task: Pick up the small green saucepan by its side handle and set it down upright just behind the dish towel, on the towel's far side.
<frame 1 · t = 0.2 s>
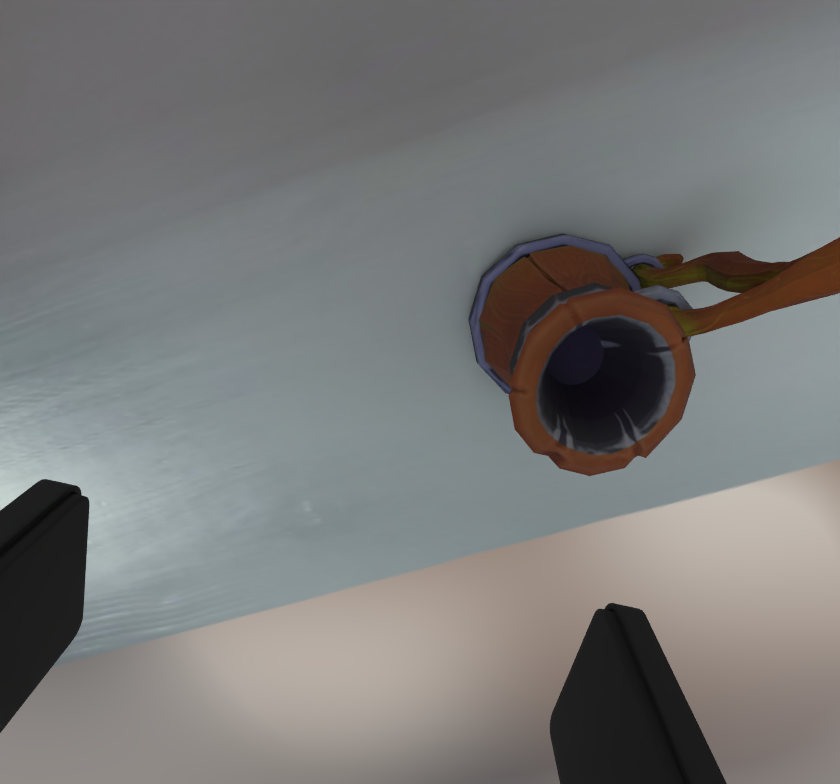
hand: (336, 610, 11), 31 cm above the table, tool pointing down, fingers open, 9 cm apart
mug: (595, 295, 40), on the table
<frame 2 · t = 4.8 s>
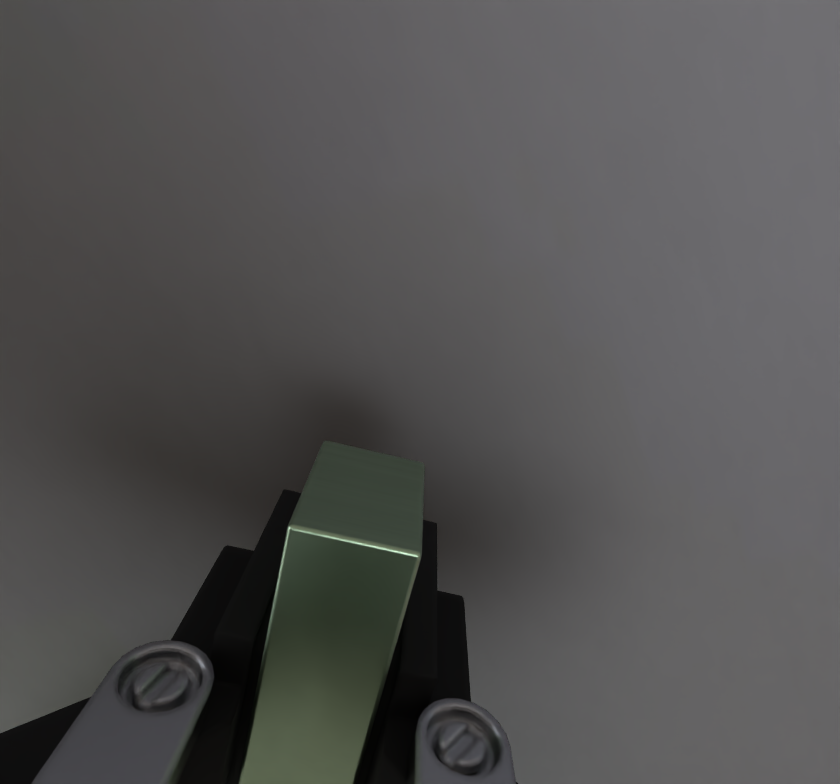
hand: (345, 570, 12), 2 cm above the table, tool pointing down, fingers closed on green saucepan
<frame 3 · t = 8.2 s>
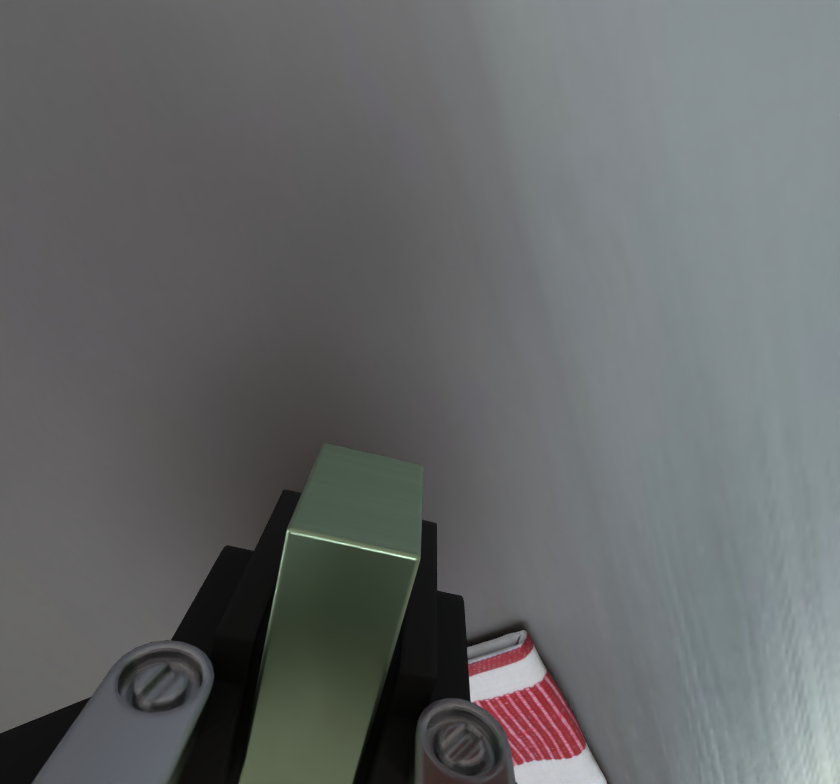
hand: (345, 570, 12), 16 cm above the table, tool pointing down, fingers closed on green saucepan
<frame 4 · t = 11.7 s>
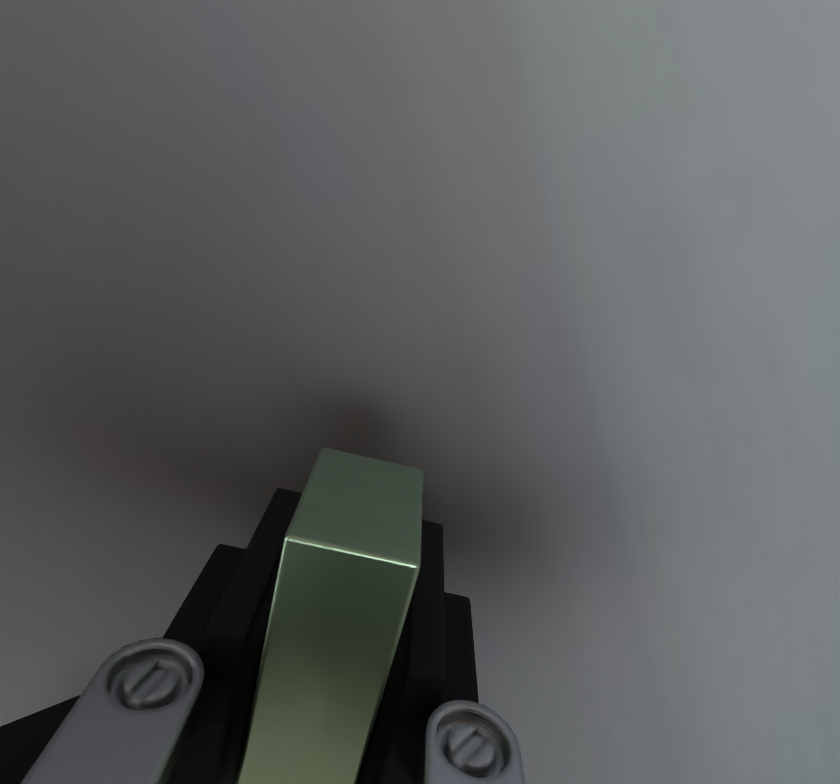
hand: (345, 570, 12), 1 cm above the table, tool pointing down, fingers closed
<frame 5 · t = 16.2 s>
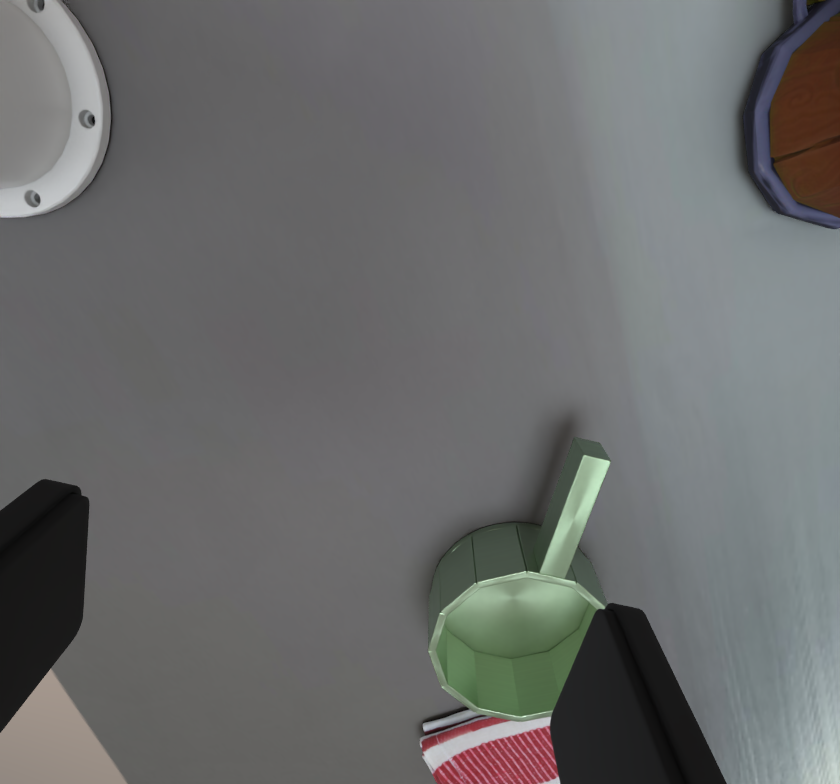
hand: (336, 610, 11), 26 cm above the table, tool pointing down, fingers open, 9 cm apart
mug: (824, 54, 31), on the table
green saucepan: (512, 591, 42), on the table
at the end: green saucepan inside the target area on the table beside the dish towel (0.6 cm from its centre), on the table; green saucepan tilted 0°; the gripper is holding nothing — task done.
